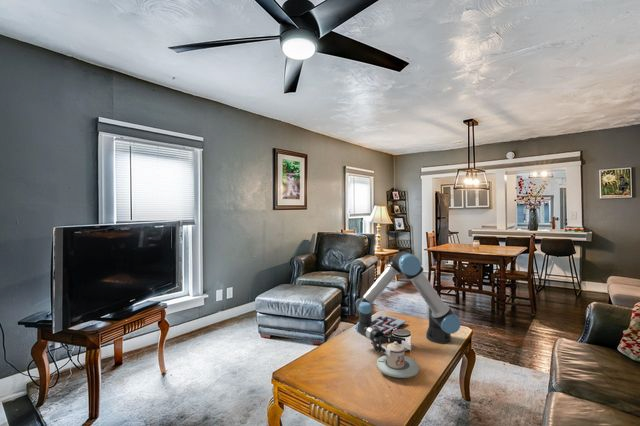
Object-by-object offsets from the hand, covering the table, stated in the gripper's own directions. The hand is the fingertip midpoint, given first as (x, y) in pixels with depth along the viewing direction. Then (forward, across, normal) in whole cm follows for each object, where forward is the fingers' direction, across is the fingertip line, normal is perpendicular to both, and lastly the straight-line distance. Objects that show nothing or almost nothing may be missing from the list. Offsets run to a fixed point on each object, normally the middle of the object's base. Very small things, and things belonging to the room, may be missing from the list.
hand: (400, 350), depth 157 cm
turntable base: (-2, 0, -12) cm, 12 cm away
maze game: (-53, -29, -13) cm, 61 cm away
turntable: (-2, 0, -9) cm, 10 cm away
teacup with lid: (-3, 0, -8) cm, 9 cm away
